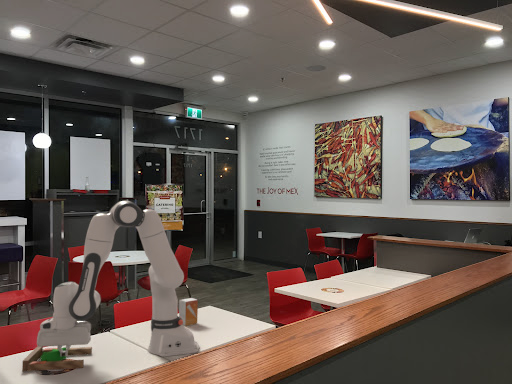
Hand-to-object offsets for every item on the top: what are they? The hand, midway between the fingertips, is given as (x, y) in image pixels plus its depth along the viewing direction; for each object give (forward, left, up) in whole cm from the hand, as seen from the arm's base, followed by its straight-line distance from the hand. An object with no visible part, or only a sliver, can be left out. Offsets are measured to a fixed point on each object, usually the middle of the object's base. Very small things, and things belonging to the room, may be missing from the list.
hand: (63, 355), depth 171 cm
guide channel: (+1, 0, -2) cm, 3 cm away
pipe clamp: (+4, 0, -2) cm, 5 cm away
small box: (-51, -47, -3) cm, 70 cm away
